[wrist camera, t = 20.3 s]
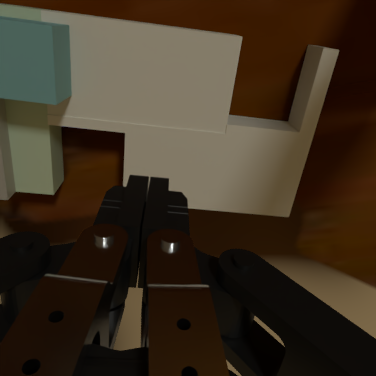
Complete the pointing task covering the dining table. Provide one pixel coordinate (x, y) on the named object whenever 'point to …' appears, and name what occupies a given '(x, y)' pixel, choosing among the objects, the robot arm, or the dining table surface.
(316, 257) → the dining table surface
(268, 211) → the tray
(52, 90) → the block
